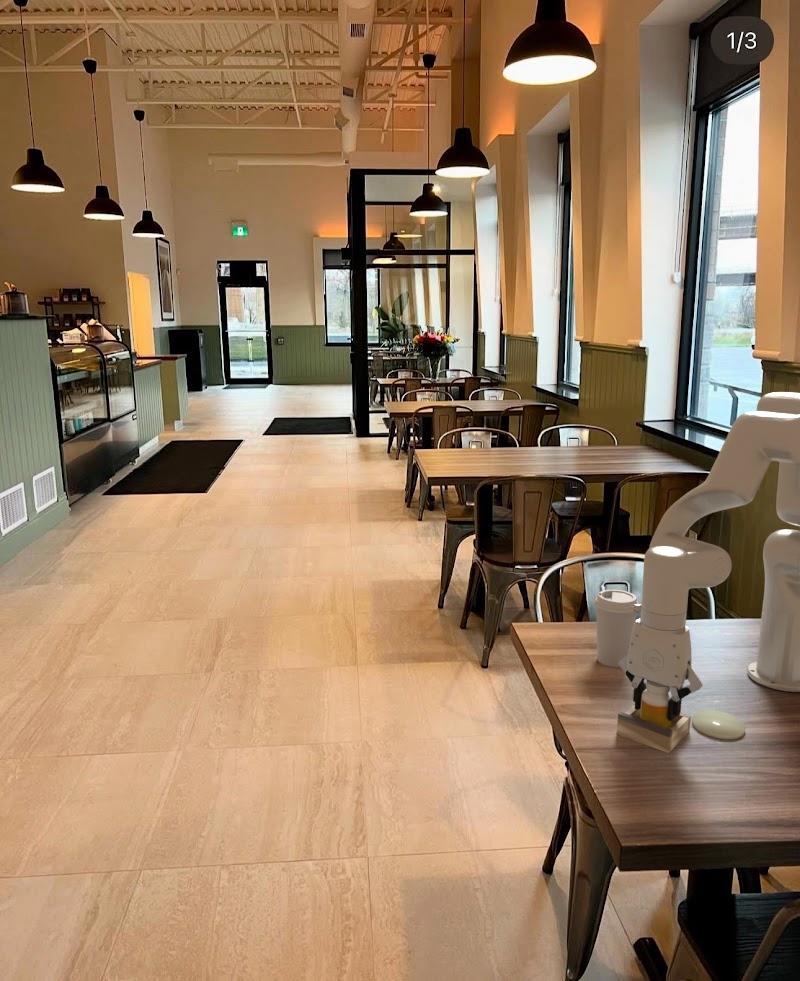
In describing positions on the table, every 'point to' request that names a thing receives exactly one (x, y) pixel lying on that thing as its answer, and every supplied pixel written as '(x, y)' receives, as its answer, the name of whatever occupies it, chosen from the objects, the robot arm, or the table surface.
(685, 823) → the table surface
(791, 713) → the table surface
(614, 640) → the coffee cup
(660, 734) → the can holder
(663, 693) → the supplement bottle
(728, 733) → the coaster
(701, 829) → the table surface
